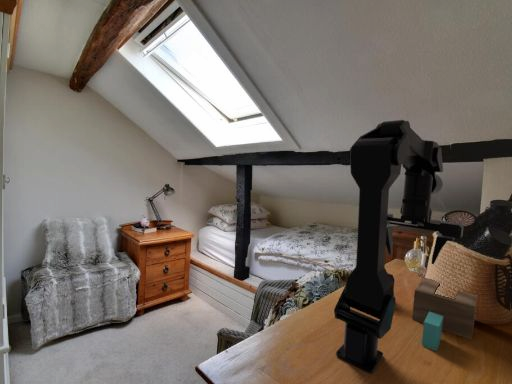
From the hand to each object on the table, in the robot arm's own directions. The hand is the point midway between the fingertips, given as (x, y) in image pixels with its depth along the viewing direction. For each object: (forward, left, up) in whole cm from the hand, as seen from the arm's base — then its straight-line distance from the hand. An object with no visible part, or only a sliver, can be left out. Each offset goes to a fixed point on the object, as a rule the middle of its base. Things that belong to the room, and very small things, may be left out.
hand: (410, 258), depth 66 cm
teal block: (-10, -7, -13) cm, 18 cm away
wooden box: (+3, -8, -13) cm, 16 cm away
